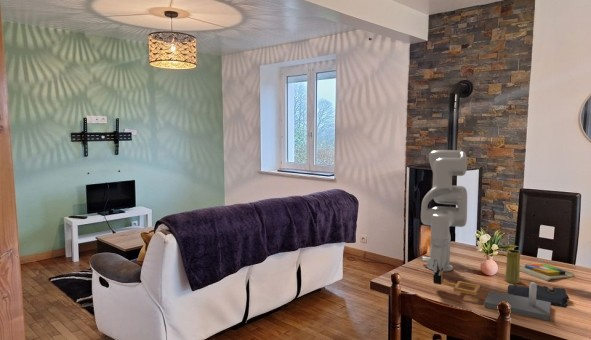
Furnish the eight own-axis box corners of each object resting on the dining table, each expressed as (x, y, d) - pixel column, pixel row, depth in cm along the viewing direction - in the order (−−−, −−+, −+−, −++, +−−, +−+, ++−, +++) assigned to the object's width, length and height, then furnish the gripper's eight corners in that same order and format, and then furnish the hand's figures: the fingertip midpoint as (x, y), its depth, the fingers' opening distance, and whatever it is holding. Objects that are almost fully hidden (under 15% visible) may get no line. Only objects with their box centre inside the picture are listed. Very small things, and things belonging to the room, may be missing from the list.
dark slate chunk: (505, 287, 184) (506, 277, 183) (562, 294, 176) (563, 284, 175) (509, 301, 170) (510, 289, 169) (571, 309, 162) (572, 298, 161)
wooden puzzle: (575, 277, 197) (575, 270, 196) (547, 282, 190) (548, 275, 189) (541, 266, 213) (541, 259, 212) (515, 270, 206) (515, 264, 206)
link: (431, 285, 178) (432, 272, 177) (437, 279, 185) (437, 266, 184) (475, 295, 168) (476, 281, 167) (479, 287, 175) (480, 274, 174)
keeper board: (484, 306, 163) (485, 279, 162) (489, 294, 175) (491, 269, 174) (548, 320, 151) (550, 291, 150) (550, 307, 163) (552, 279, 162)
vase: (521, 284, 187) (523, 253, 186) (506, 283, 188) (508, 252, 187) (517, 279, 193) (518, 249, 191) (503, 278, 194) (504, 248, 193)
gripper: (436, 235, 187) (434, 274, 189) (425, 245, 173) (424, 286, 176) (453, 238, 183) (451, 277, 185) (443, 248, 169) (442, 290, 172)
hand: (438, 281), depth 180 cm, fingers closed on link, 3 cm apart
